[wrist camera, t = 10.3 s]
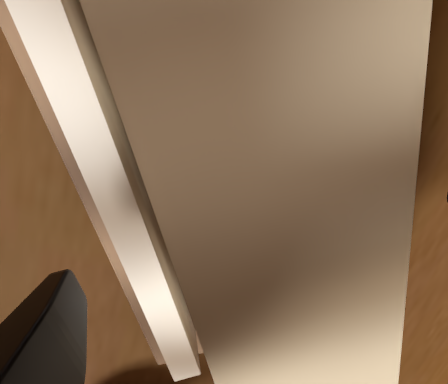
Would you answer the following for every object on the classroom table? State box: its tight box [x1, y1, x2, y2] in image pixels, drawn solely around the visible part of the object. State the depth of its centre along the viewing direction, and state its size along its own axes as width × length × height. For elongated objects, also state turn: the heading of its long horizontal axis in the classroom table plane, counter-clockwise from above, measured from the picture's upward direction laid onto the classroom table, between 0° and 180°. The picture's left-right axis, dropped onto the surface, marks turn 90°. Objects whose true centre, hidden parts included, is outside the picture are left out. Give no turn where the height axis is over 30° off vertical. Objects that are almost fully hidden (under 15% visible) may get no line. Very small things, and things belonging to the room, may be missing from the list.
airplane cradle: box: [0, 0, 204, 382], centre depth 11 cm, size 17×10×5 cm, turn 11°
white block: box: [80, 0, 433, 384], centre depth 9 cm, size 12×4×6 cm, turn 11°
